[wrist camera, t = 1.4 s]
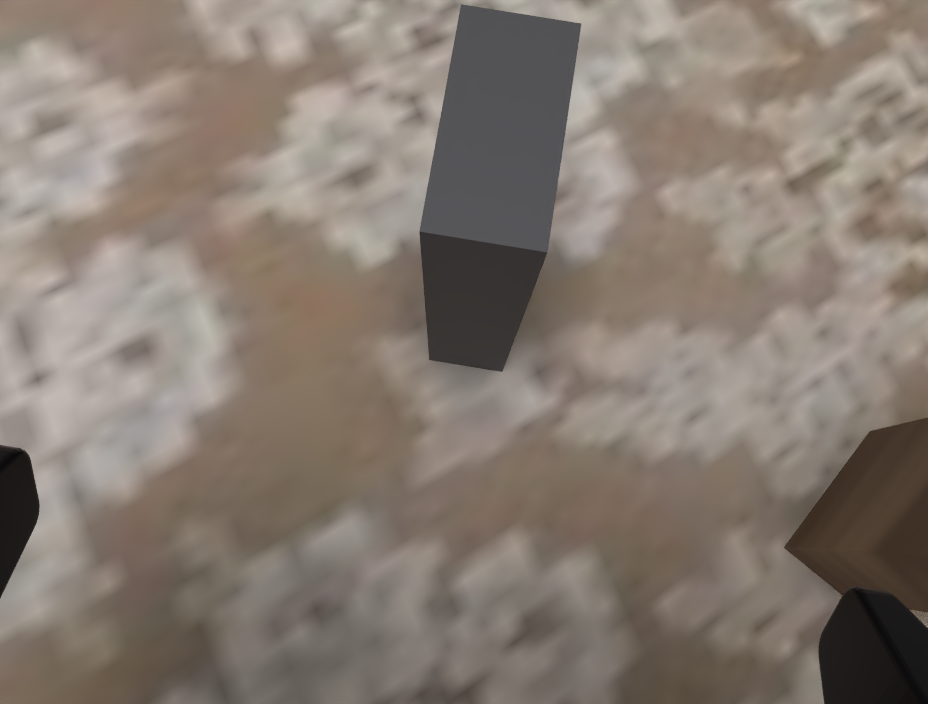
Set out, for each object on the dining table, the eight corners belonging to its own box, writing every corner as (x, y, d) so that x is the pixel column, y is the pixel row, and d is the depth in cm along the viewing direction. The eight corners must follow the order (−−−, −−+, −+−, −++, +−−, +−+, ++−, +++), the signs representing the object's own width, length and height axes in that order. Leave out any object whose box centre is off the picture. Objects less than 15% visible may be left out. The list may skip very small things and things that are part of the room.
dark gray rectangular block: (523, 233, 24) (581, 23, 14) (502, 371, 23) (547, 252, 13) (453, 222, 24) (461, 4, 14) (429, 359, 23) (419, 231, 13)
